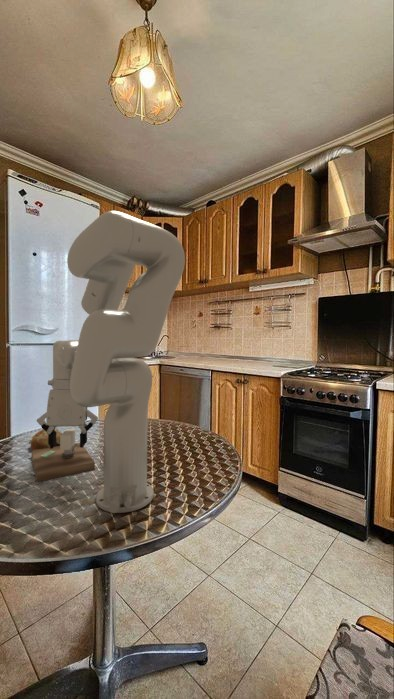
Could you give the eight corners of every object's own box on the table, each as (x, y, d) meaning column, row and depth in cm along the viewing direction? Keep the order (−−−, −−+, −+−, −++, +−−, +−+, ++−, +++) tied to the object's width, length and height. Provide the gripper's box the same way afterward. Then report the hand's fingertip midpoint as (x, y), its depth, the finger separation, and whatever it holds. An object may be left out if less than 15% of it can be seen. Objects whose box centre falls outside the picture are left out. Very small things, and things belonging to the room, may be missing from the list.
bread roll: (42, 466, 92) (51, 444, 91) (19, 448, 95) (27, 426, 94) (66, 454, 101) (74, 434, 100) (44, 438, 104) (52, 418, 103)
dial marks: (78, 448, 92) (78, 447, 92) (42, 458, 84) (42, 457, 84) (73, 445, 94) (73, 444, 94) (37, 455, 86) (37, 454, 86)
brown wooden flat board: (94, 469, 82) (94, 462, 82) (36, 481, 74) (36, 474, 74) (80, 448, 97) (80, 442, 97) (31, 457, 90) (31, 450, 90)
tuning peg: (70, 460, 82) (70, 435, 82) (58, 461, 82) (58, 435, 82) (81, 446, 93) (81, 423, 93) (70, 446, 93) (70, 424, 92)
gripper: (29, 386, 79) (29, 452, 80) (97, 386, 82) (97, 450, 82) (40, 382, 87) (40, 442, 87) (102, 382, 89) (102, 440, 90)
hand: (68, 446), depth 85 cm, fingers open, 7 cm apart
